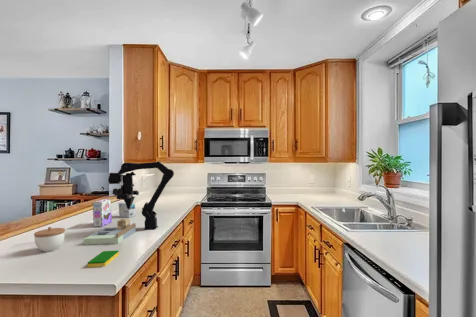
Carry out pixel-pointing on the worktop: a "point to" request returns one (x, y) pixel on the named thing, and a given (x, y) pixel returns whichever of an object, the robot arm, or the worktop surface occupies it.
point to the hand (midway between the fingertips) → (128, 208)
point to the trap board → (110, 235)
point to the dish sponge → (103, 258)
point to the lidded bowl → (49, 239)
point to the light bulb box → (126, 210)
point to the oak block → (123, 223)
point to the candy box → (102, 212)
